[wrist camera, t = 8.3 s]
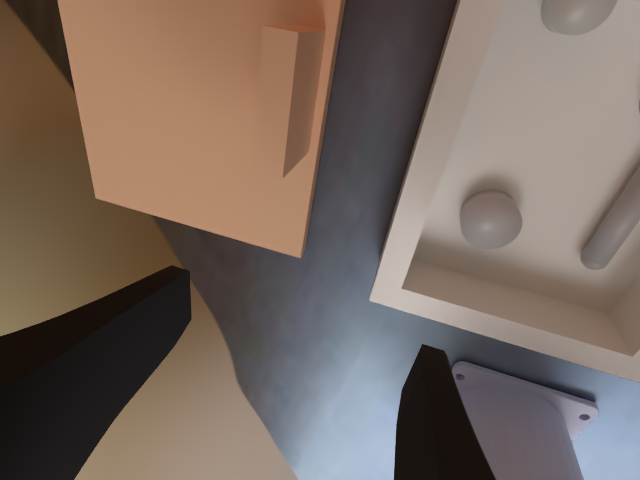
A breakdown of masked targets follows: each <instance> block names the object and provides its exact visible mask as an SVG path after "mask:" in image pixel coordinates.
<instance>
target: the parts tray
mask: <svg viewBox="0 0 640 480" xmlns="http://www.w3.org/2000/svg"><path fill="white" fill-rule="evenodd" d="M369 301H372V302H375V303H378V304H382V305H385V306H388V307H391V308H395V309H398V310H401V311H405V312H408V313H411V314H415V315H418V316H421V317H424V318H428V319H431V320H434V321H438V322H441V323H444V324H447V325H451V326H454V327H457V328H461V329H464V330H467V331H471V332H474V333H477V334H480V335H484V336H487V337H490V338H494V339H497V340H500V341H504V342H507V343H510V344H513V345H517V346H520V347H523V348H527V349H530V350H533V351H536V352H540V353H543V354H546V355H550V356H553V357H556V358H560V359H563V360H566V361H569V362H573V363H576V364H579V365H583V366H586V367H589V368H593V369H596V370H599V371H602V372H606V373H609V374H612V375H616V376H619V377H622V378H625V379H629V380H632V381H635V382H639V383H640V0H457V3H456V6H455V10H454V13H453V16H452V20H451V23H450V26H449V30H448V33H447V36H446V40H445V43H444V46H443V50H442V53H441V56H440V60H439V63H438V66H437V69H436V73H435V76H434V79H433V83H432V86H431V89H430V93H429V96H428V99H427V103H426V106H425V109H424V113H423V116H422V119H421V123H420V126H419V129H418V133H417V136H416V139H415V143H414V146H413V149H412V153H411V156H410V159H409V163H408V166H407V169H406V173H405V176H404V179H403V182H402V186H401V189H400V192H399V196H398V199H397V202H396V206H395V209H394V212H393V216H392V219H391V222H390V226H389V229H388V232H387V236H386V239H385V242H384V246H383V249H382V252H381V256H380V259H379V263H378V267H377V271H376V275H375V279H374V283H373V287H372V291H371V295H370V299H369Z"/></svg>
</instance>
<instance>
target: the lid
mask: <svg viewBox="0 0 640 480" xmlns="http://www.w3.org/2000/svg"><path fill="white" fill-rule="evenodd" d="M345 2H346V0H58V5H59V10H60V15H61V20H62V25H63V31H64V36H65V41H66V46H67V51H68V57H69V62H70V67H71V72H72V77H73V83H74V88H75V93H76V98H77V103H78V108H79V114H80V119H81V124H82V129H83V134H84V140H85V145H86V150H87V155H88V161H89V166H90V171H91V176H92V181H93V187H94V192H95V197H96V198H97V199H100V200H104V201H107V202H110V203H114V204H118V205H121V206H124V207H127V208H131V209H134V210H138V211H141V212H145V213H148V214H151V215H155V216H158V217H162V218H165V219H168V220H172V221H175V222H179V223H182V224H185V225H189V226H192V227H196V228H199V229H202V230H206V231H209V232H213V233H216V234H219V235H223V236H226V237H230V238H233V239H236V240H240V241H243V242H247V243H250V244H253V245H257V246H260V247H264V248H267V249H271V250H274V251H277V252H281V253H284V254H288V255H291V256H294V257H298V258H301V257H302V255H303V253H304V252H305V247H306V241H307V235H308V229H309V223H310V217H311V210H312V204H313V198H314V192H315V186H316V180H317V174H318V167H319V161H320V155H321V149H322V143H323V137H324V131H325V124H326V118H327V112H328V106H329V100H330V94H331V88H332V81H333V75H334V69H335V63H336V57H337V51H338V45H339V38H340V32H341V26H342V20H343V14H344V8H345Z"/></svg>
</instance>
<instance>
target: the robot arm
mask: <svg viewBox="0 0 640 480" xmlns="http://www.w3.org/2000/svg"><path fill="white" fill-rule="evenodd" d="M190 321H191V296H190V272H189V271H188V270H185V269H181V268H178V267H175V266H169V267H167V268H165V269H162V270H160V271H158V272H156V273H154V274H152V275H150V276H147V277H145V278H143V279H141V280H139V281H137V282H135V283H133V284H131V285H129V286H126V287H124V288H122V289H120V290H118V291H116V292H113V293H111V294H109V295H107V296H105V297H103V298H101V299H98V300H96V301H93V302H91V303H89V304H87V305H84V306H82V307H79V308H77V309H74V310H72V311H70V312H67V313H65V314H63V315H60V316H58V317H55V318H52V319H50V320H47V321H44V322H42V323H39V324H36V325H33V326H30V327H27V328H24V329H22V330H19V331H16V332H13V333H10V334H7V335H3V336H0V480H74V479H75V477H76V476H77V474H78V473H79V471H80V470H81V468H82V466H83V465H84V464H85V462H86V461H87V459H88V457H89V456H90V454H91V453H92V451H93V450H94V448H95V447H96V446H97V444H98V443H99V441H100V439H101V438H102V437H103V435H104V434H105V432H106V431H107V430H108V428H109V427H110V425H111V424H112V422H113V421H114V420H115V418H116V417H117V416H118V414H119V413H120V412H121V411H122V409H123V408H124V407H125V405H126V404H127V403H128V402H129V401H130V399H131V398H132V397H133V396H134V395H135V393H136V392H137V391H138V390H139V389H140V388H141V386H142V385H143V384H144V383H145V381H146V380H147V379H148V378H149V376H150V375H151V374H152V373H153V372H154V370H155V369H156V368H157V367H158V366H159V364H160V363H161V362H162V361H163V360H164V358H165V357H166V356H167V355H168V353H169V352H170V351H171V350H172V348H173V347H174V346H175V344H176V343H177V341H178V340H179V338H180V337H181V335H182V334H183V332H184V330H185V329H186V327H187V325H188V324H189V322H190ZM457 374H462V375H457ZM598 414H599V408H598V406H597V405H596V403H594V402H592V401H588V400H585V399H582V398H579V397H576V396H573V395H569V394H566V393H563V392H560V391H557V390H554V389H550V388H547V387H544V386H541V385H538V384H535V383H531V382H528V381H525V380H522V379H519V378H516V377H512V376H509V375H506V374H503V373H500V372H497V371H493V370H490V369H487V368H484V367H481V366H478V365H474V364H471V363H468V362H464V361H459V362H457V363H455V364H454V366H453V368H452V370H451V367H450V364H449V361H448V358H447V355H446V353H445V351H443V350H440V349H436V348H433V347H430V346H427V345H424V344H422V346H421V348H420V350H419V353H418V355H417V357H416V359H415V362H414V364H413V366H412V368H411V371H410V373H409V375H408V377H407V380H406V382H405V384H404V386H403V389H402V393H401V399H400V406H399V412H398V419H397V427H396V446H395V468H394V480H584V479H583V476H582V473H581V470H580V467H579V464H578V460H577V457H576V454H575V451H574V448H573V445H572V441H573V440H574V439H575V438H576V437H577V436H578V435H579V434H580V433H581V432H582V431H583V430H584V429H585V428H586V427H587V426H588V425H589V424H590V423H591V422H592V421H593V419H594V418H595V417H596V416H597V415H598Z"/></svg>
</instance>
